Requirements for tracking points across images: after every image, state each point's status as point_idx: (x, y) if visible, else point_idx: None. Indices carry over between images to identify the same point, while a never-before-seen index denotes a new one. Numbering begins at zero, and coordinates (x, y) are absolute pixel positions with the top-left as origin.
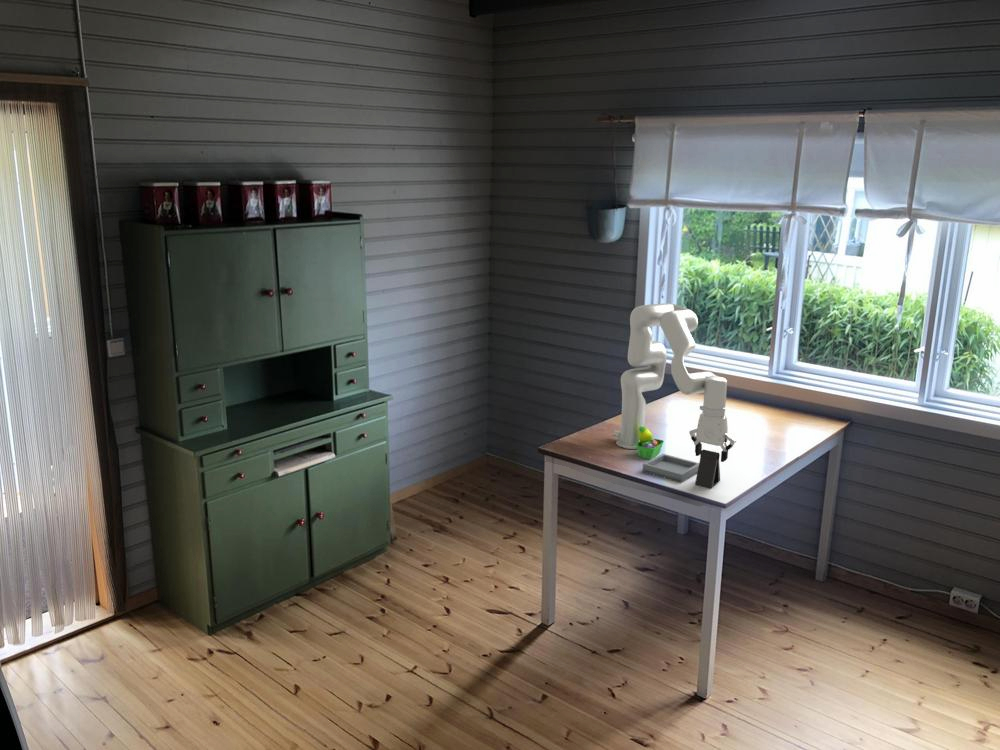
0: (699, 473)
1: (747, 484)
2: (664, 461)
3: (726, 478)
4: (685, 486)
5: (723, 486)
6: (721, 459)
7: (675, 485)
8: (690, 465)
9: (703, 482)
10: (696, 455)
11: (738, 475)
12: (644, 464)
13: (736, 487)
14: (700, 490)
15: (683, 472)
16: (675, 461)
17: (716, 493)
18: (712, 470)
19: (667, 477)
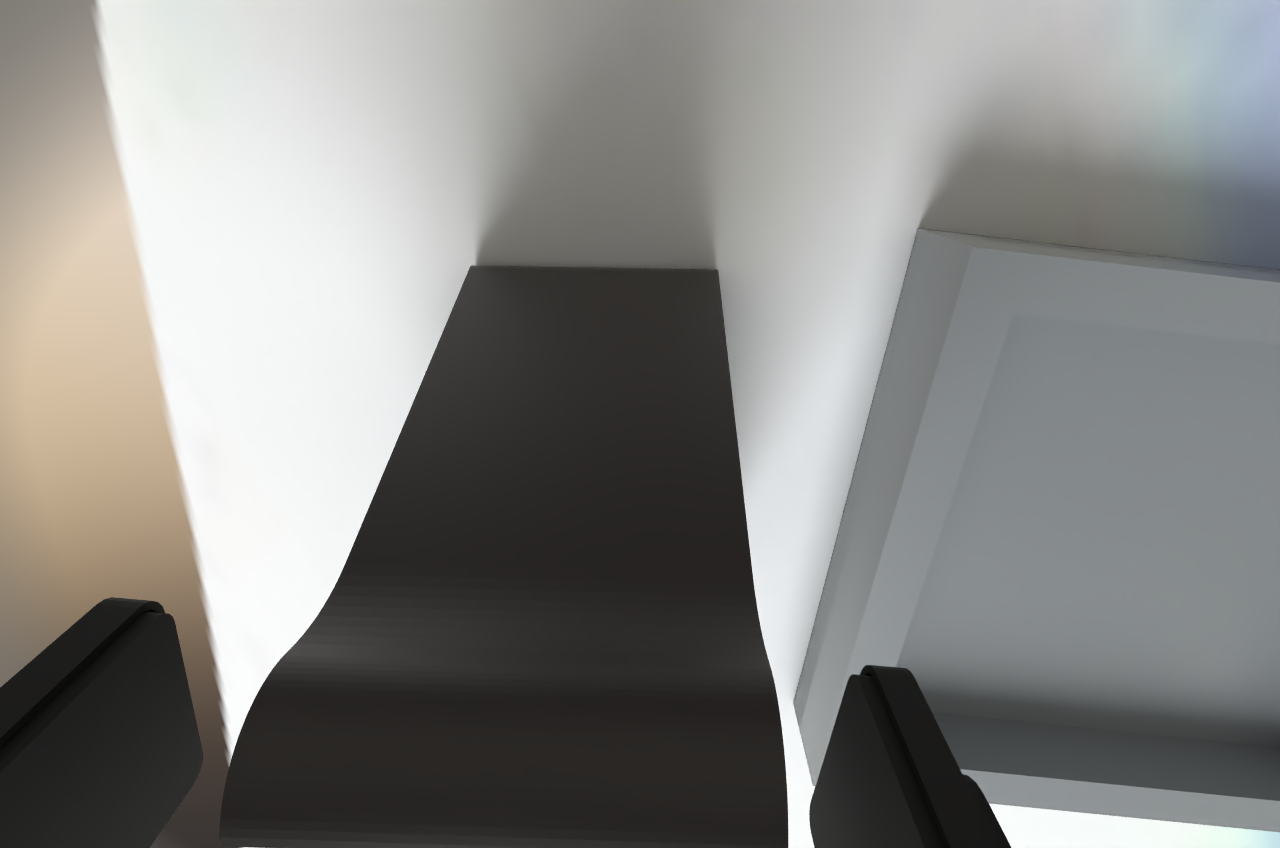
0: (687, 370)
1: (222, 633)
2: (1274, 717)
3: None
4: (822, 114)
5: (389, 435)
6: (97, 641)
7: (980, 51)
8: None
9: (594, 294)
10: (883, 667)
11: None
12: None
13: (257, 492)
14: (569, 95)
15: (971, 366)
16: (1144, 751)
17: (332, 130)
18: (440, 441)
19: (1165, 259)
